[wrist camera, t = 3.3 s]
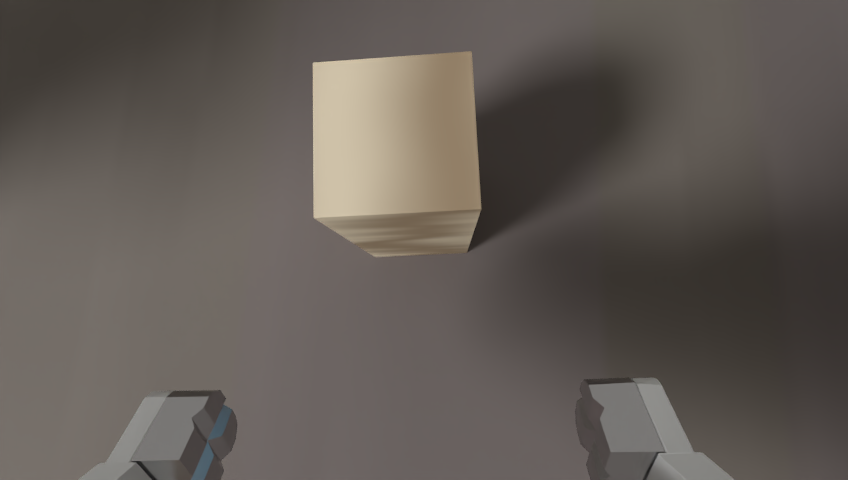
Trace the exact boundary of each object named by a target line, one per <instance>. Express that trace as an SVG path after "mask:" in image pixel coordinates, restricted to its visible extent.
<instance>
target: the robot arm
mask: <svg viewBox="0 0 848 480" xmlns="http://www.w3.org/2000/svg"><path fill="white" fill-rule="evenodd" d="M580 392H581V395H582V398H581V399H579V400H578V401H577V404H576V410H575V416H576V427H577V432H578V436H579V440H580V444H581V445H582V446H583V447H584V448H585V449H586V450H587V451H588V452H589V456H588V460H587V464H586V466H587V469H588V473H589V476H590V480H735V479H733V478H732V477H731V476H730V475H729V474H727V473H726V472H725V471H724V470H723V469H721V468H720V467H719V466H718V465H717V464H715V463H714V462H713V461H712V460H711V459H709V458H708V457H707V456H706V455H705V454H704V453H702V452H694V450H693V448H692V446H691V444H690V442H689V440H688V438H687V436H686V434H685V432H684V430H683V428H682V426H681V424H680V422H679V420H678V417H677V415H676V413H675V411H674V409H673V407H672V405H671V403H670V401H669V399H668V397H667V395H666V393H665V391H664V389H663V387H662V385H661V383H660V382H659V381H658V380H657V379H656V378H653V377H648V378H608V379H586V380H583V381H582V382H581V386H580ZM225 399H226V398H225V396H224V395H223V393H222V392H221V390H193V391H176V390H175V391H152V392H151V393H150V394H149V395H147V396H146V397H145V398H144V400H143V401H142V403H141V405H140V406H139V408H138V410H137V411H136V413H135V415H134V416H133V418H132V420H131V421H130V423H129V425H128V426H127V428H126V430H125V431H124V433H123V435H122V436H121V438H120V440H119V441H118V443H117V445H116V446H115V448H114V450H113V451H112V453H111V455H110V456H109V458H108V460H107V461H106V463H98V464H97V465H96V466H95V467H94V468H92V469H91V470H90V471H89V472H87V473H86V474H85V475H84V476H82V477H81V478H80V479H79V480H221V477H222V474H223V472H224V469H223V466H222V463H221V460H222V459H223V458H224V457H225V456H227V455H228V454H229V453H230V452H231V450H232V448H233V445H234V442H235V439H236V432H237V420H236V416H235V414H234V412H233V410H232V409H230V408H228V407H227V406H225V405H223V404H224V402H225Z"/></svg>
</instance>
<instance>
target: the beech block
mask: <svg viewBox="0 0 848 480" xmlns="http://www.w3.org/2000/svg"><path fill="white" fill-rule="evenodd" d="M313 181H314V218H315V219H316V220H318V221H319V222H321V223H322V224H324V225H326V226H327V227H329V228H330V229H332V230H333V231H335V232H337V233H338V234H340V235H341V236H343V237H344V238H346V239H348V240H349V241H351V242H352V243H354V244H355V245H357V246H359V247H360V248H362V249H363V250H365V251H366V252H368V253H370V254H371V255H373V256H374V257H388V256H409V255H429V254H450V253H467V251H468V248H469V245H470V242H471V239H472V236H473V233H474V230H475V227H476V224H477V221H478V218H479V215H480V212H481V195H480V179H479V162H478V146H477V130H476V114H475V98H474V82H473V66H472V51H470V52H456V53H442V54H428V55H414V56H400V57H386V58H372V59H357V60H343V61H329V62H315V63H313Z"/></svg>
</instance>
